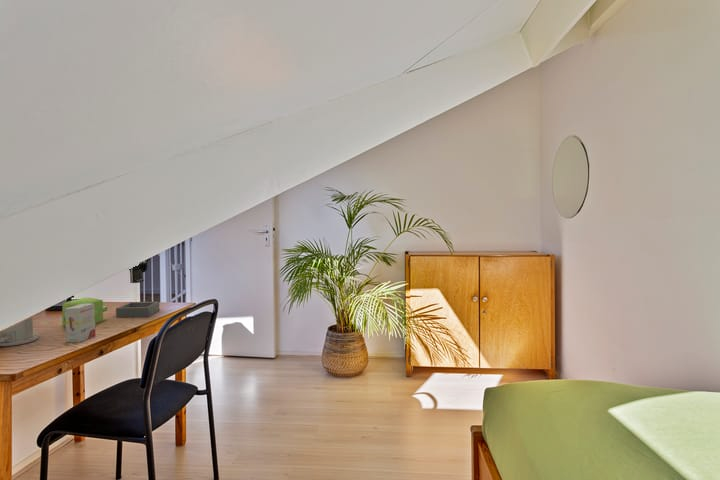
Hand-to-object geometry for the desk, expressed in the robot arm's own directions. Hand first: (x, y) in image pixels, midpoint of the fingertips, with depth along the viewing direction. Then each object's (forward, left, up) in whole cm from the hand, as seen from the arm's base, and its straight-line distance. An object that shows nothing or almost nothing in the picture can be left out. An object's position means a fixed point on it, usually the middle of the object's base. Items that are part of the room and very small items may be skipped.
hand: (138, 271), depth 178 cm
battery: (0, 0, -5) cm, 5 cm away
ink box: (-37, +5, -19) cm, 42 cm away
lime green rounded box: (-17, +14, -19) cm, 29 cm away
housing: (0, 0, -19) cm, 19 cm away
